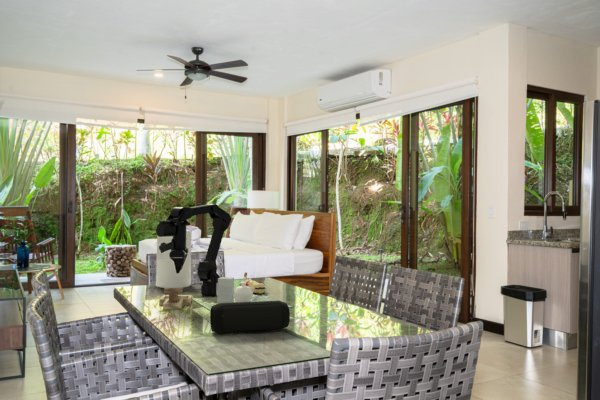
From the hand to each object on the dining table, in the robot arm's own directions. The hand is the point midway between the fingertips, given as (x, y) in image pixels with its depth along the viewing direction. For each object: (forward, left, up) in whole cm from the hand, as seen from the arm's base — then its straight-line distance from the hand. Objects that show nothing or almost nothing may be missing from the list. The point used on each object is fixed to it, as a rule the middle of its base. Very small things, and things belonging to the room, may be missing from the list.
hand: (178, 271), depth 213 cm
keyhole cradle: (0, +9, -13) cm, 16 cm away
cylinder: (+7, -41, -13) cm, 43 cm away
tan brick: (0, +14, -12) cm, 19 cm away
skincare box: (-21, +13, -13) cm, 28 cm away
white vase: (-28, +24, -13) cm, 39 cm away
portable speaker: (-30, +52, -13) cm, 62 cm away
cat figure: (-33, -26, -13) cm, 44 cm away
